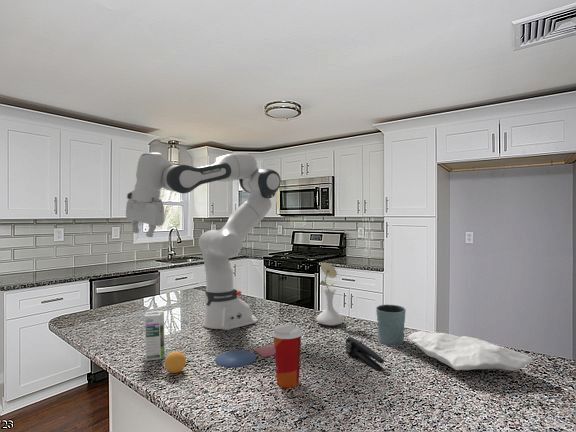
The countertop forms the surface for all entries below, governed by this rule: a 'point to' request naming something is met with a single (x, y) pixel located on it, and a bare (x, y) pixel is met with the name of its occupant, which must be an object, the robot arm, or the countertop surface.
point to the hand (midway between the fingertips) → (142, 234)
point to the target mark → (235, 358)
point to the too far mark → (265, 351)
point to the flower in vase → (329, 300)
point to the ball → (175, 362)
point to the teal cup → (391, 324)
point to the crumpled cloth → (468, 352)
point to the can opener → (363, 352)
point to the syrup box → (154, 335)
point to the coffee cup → (287, 354)
